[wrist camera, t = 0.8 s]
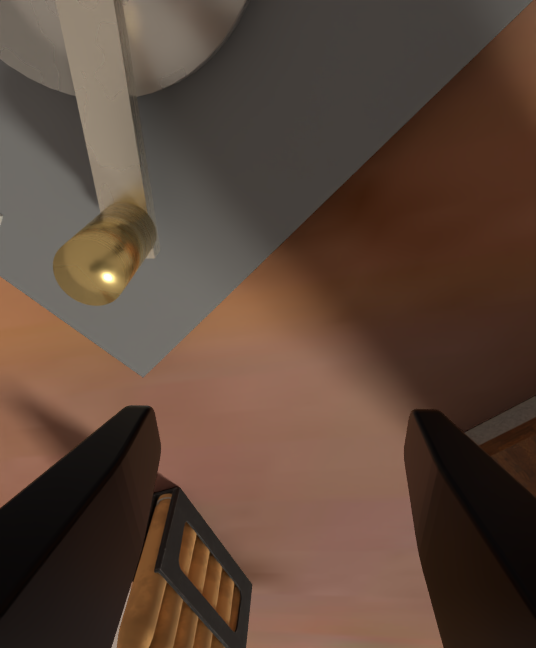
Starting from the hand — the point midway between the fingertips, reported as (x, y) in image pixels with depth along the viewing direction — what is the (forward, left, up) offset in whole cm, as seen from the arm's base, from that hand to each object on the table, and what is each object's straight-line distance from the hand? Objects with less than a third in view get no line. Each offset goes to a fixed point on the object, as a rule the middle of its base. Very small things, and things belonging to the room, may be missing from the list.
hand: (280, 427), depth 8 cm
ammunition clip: (+20, +12, -13) cm, 26 cm away
